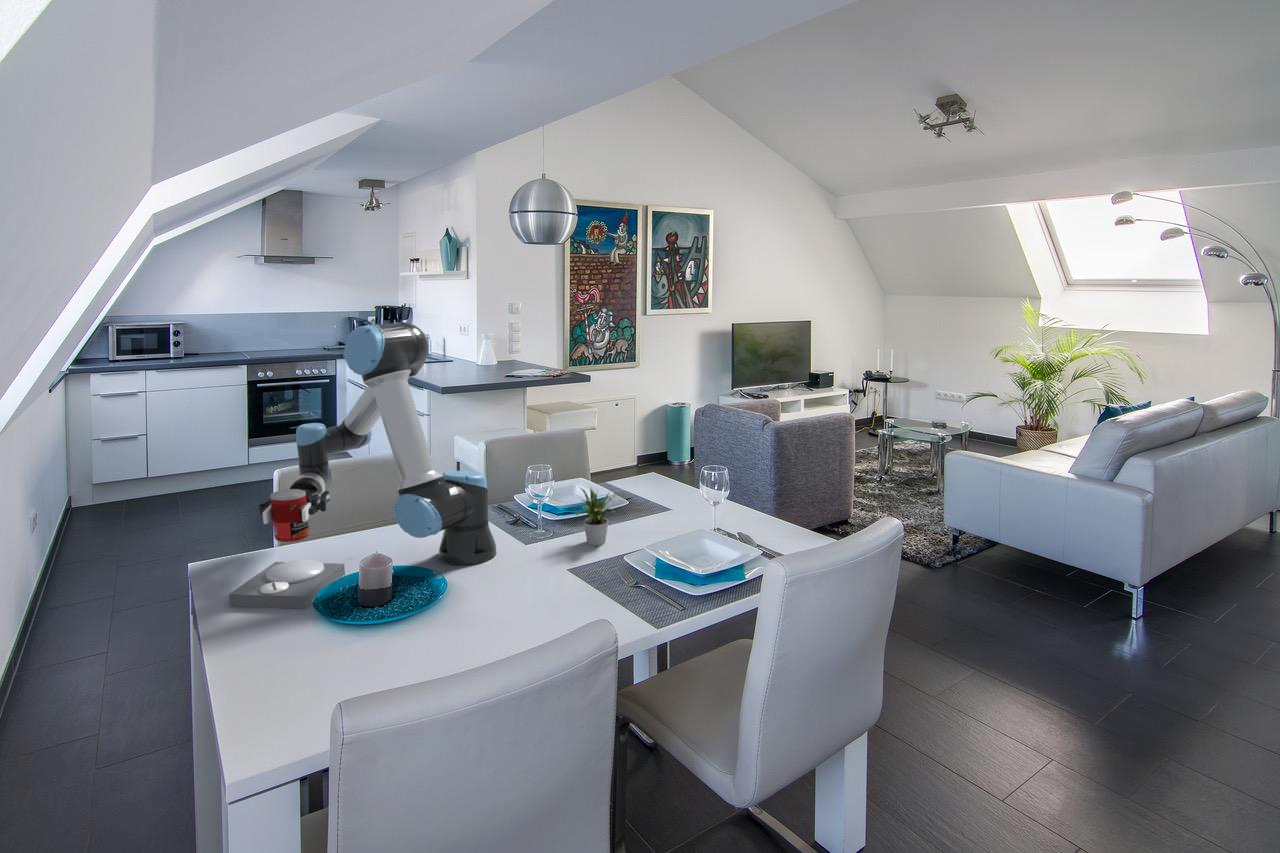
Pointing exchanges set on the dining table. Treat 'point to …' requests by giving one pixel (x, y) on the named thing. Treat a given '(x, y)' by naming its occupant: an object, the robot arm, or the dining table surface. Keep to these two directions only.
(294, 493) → the canned food
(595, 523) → the house plant
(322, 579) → the kitchen scale
